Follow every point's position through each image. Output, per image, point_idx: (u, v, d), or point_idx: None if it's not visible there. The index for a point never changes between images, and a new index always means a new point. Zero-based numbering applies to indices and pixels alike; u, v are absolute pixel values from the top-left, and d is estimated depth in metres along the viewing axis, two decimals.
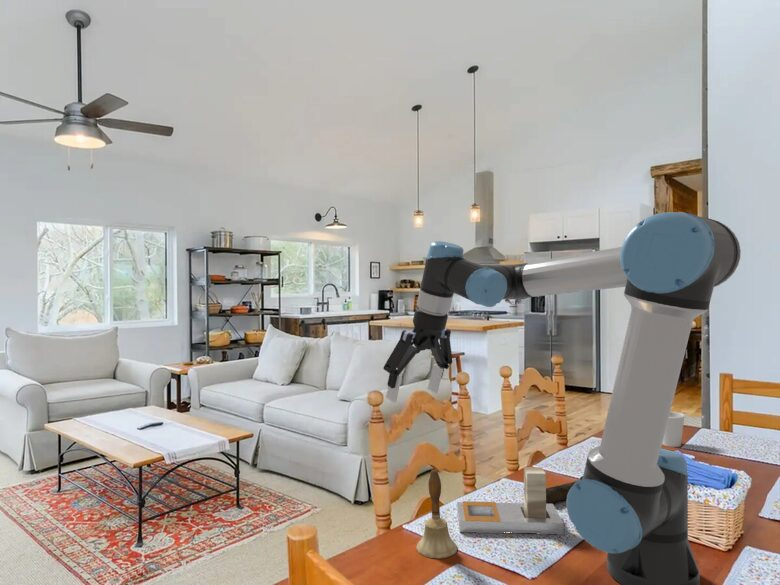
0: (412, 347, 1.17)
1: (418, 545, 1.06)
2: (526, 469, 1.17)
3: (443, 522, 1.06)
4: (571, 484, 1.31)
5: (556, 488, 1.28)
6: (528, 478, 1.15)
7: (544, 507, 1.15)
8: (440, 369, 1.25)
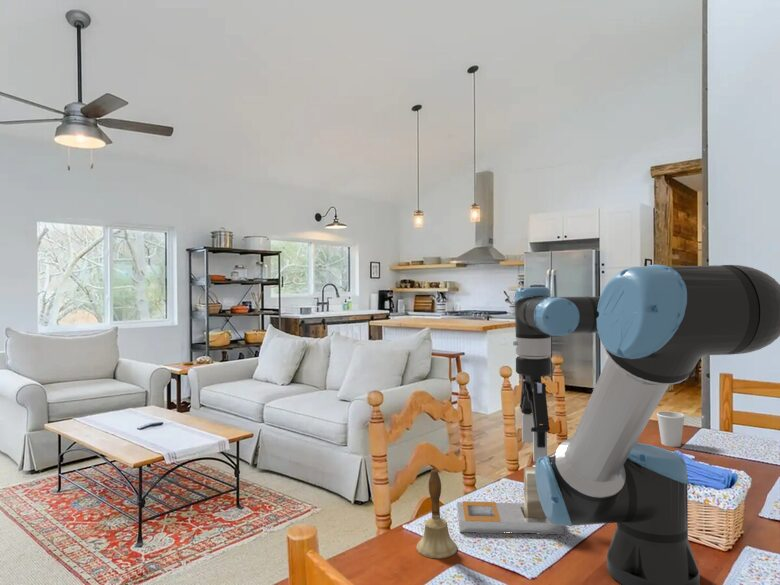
0: None
1: (418, 545, 1.06)
2: (526, 469, 1.17)
3: (443, 522, 1.06)
4: None
5: None
6: (528, 478, 1.15)
7: None
8: (532, 415, 1.23)
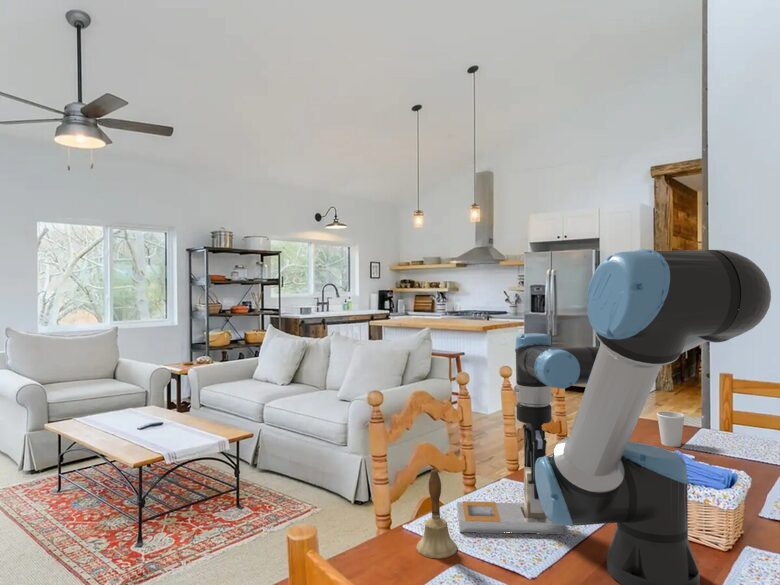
0: None
1: (418, 545, 1.06)
2: (526, 469, 1.17)
3: (443, 522, 1.06)
4: None
5: None
6: (528, 478, 1.15)
7: None
8: None
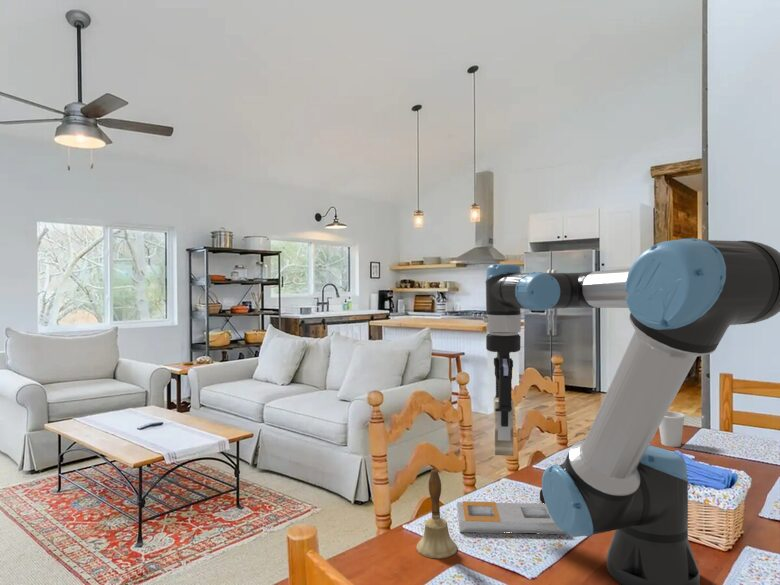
0: None
1: (418, 545, 1.06)
2: (495, 399, 1.18)
3: (443, 522, 1.06)
4: None
5: None
6: (496, 406, 1.16)
7: (511, 435, 1.16)
8: None
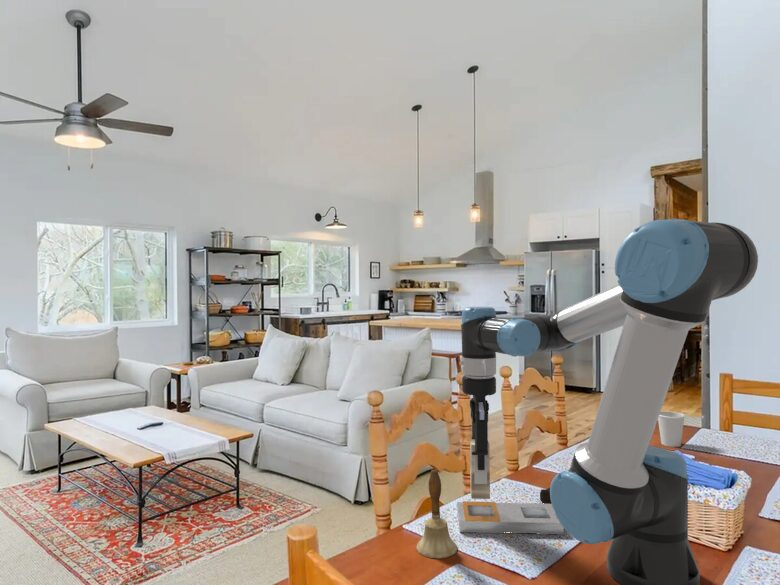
0: None
1: (418, 545, 1.06)
2: (472, 441, 1.18)
3: (443, 522, 1.06)
4: None
5: None
6: (472, 449, 1.16)
7: (488, 478, 1.16)
8: None
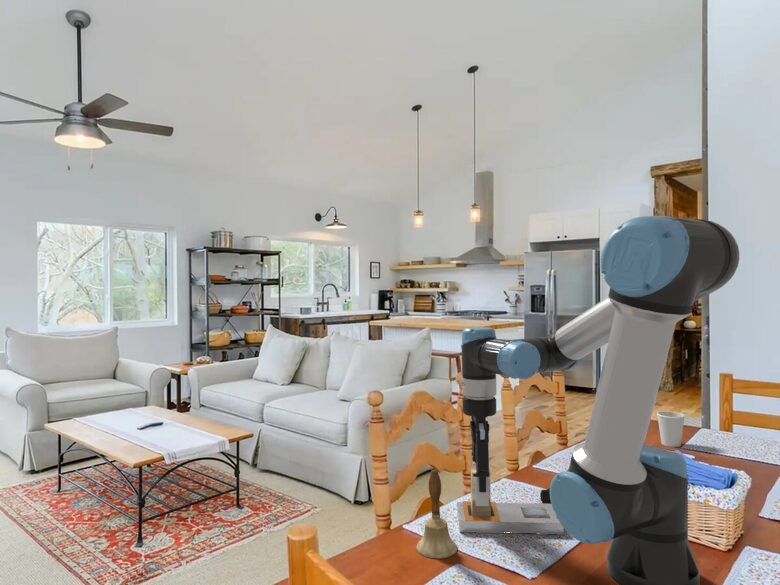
0: None
1: (418, 545, 1.06)
2: (472, 468, 1.18)
3: (443, 522, 1.06)
4: None
5: None
6: (473, 477, 1.16)
7: (489, 506, 1.16)
8: None
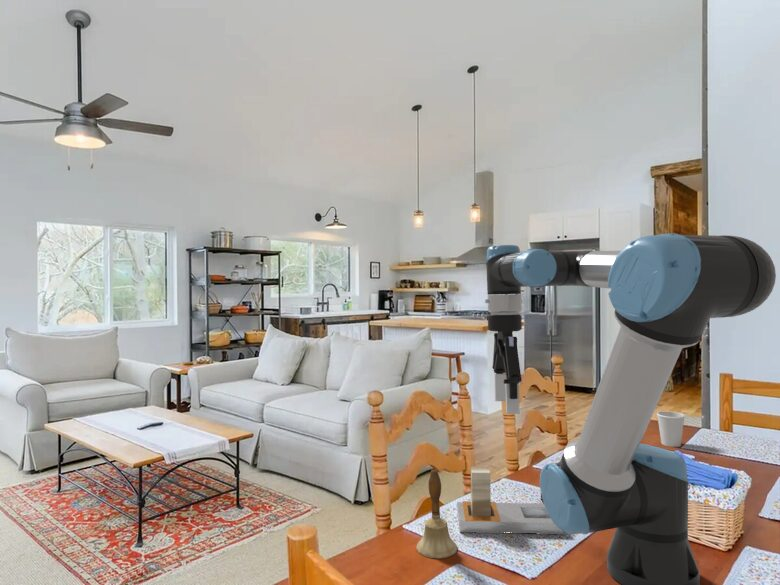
0: None
1: (418, 545, 1.06)
2: (472, 468, 1.18)
3: (443, 522, 1.06)
4: None
5: None
6: (473, 477, 1.16)
7: (489, 506, 1.16)
8: (505, 375, 1.26)
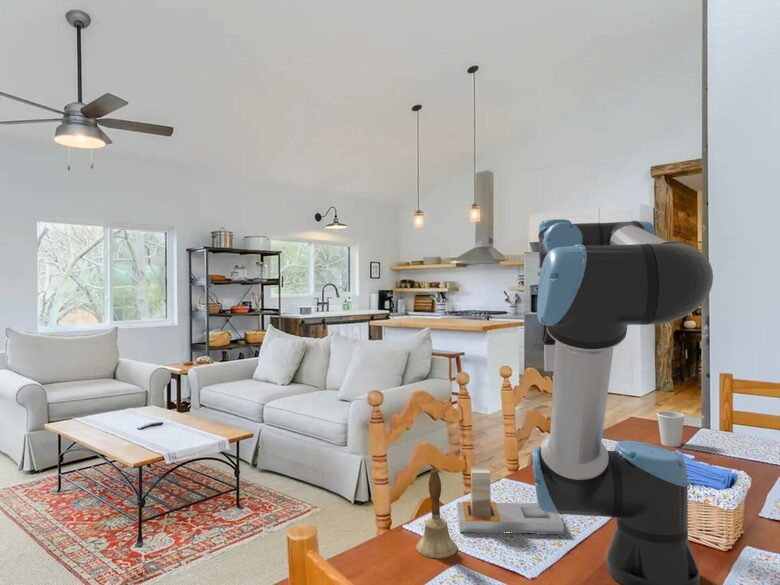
0: None
1: (418, 545, 1.06)
2: (472, 468, 1.18)
3: (443, 522, 1.06)
4: None
5: None
6: (473, 477, 1.16)
7: (489, 506, 1.16)
8: (554, 346, 1.30)
